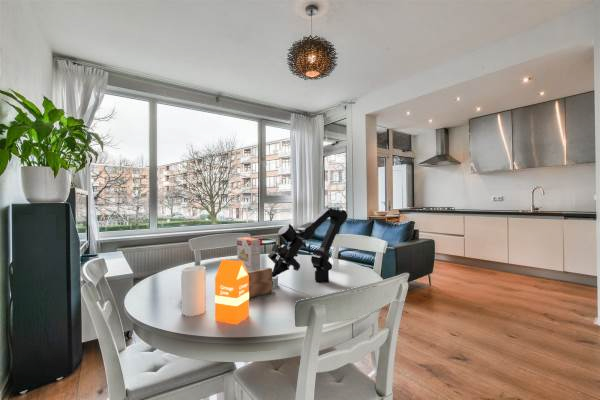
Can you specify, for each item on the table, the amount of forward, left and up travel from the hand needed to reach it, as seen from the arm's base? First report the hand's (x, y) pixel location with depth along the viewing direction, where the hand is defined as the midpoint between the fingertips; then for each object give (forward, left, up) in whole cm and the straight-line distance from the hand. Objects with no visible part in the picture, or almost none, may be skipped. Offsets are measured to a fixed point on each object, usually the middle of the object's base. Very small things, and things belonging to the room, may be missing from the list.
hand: (272, 276), depth 124 cm
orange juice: (+8, +27, -7) cm, 30 cm away
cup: (+24, +23, -7) cm, 35 cm away
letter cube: (+2, -9, -7) cm, 12 cm away
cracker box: (+17, -23, -7) cm, 30 cm away
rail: (+8, +7, -7) cm, 13 cm away
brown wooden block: (+5, +5, -6) cm, 9 cm away
